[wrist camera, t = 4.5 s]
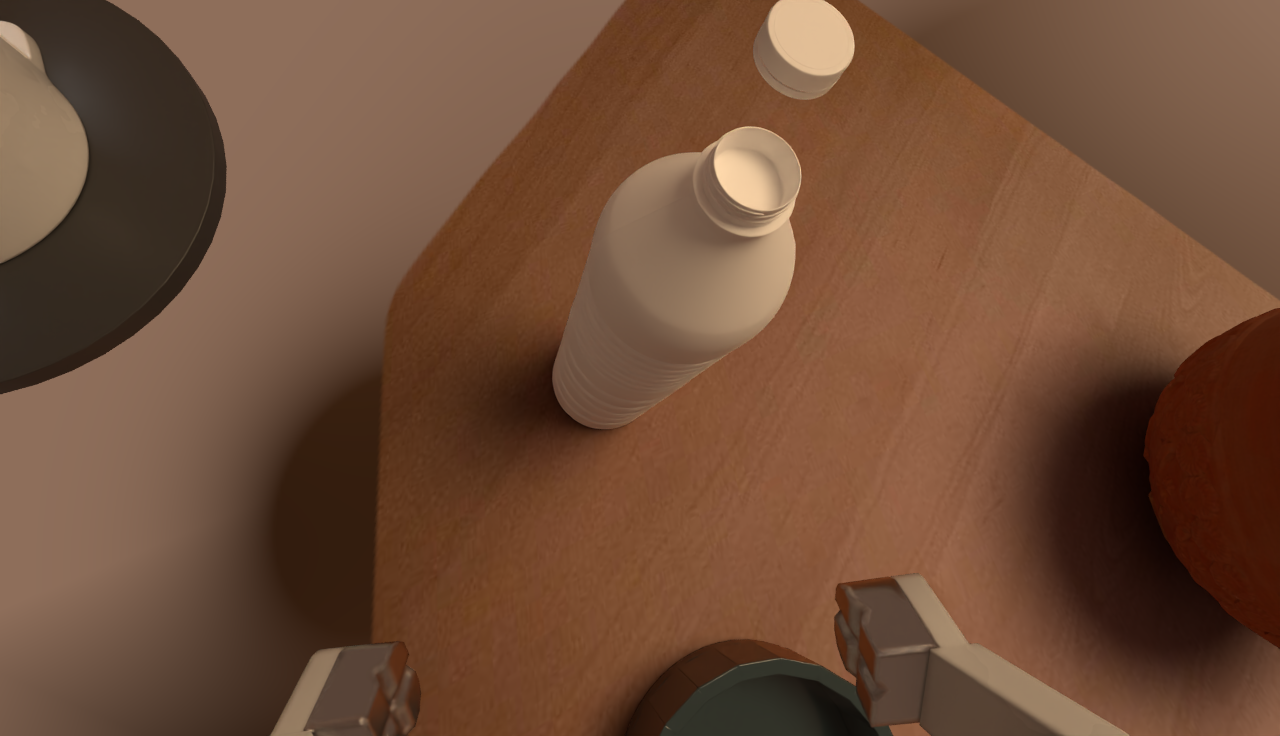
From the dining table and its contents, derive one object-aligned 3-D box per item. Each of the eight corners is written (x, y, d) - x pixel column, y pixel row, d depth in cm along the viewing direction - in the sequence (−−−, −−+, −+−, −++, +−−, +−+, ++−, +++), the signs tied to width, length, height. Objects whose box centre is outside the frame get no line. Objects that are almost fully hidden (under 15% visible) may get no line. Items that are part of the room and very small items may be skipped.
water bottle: (630, 446, 37) (843, 342, 13) (534, 404, 36) (578, 216, 13) (679, 326, 40) (932, 57, 16) (589, 285, 39) (714, -61, 15)
